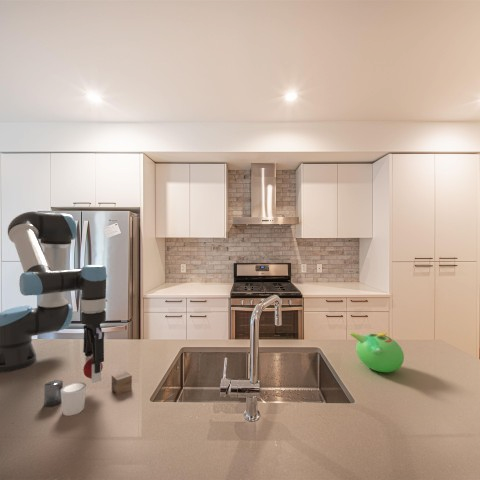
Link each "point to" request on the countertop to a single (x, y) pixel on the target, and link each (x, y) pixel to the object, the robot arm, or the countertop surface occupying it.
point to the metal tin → (52, 393)
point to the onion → (89, 368)
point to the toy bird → (379, 352)
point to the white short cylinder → (73, 398)
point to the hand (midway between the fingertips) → (93, 378)
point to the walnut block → (121, 382)
